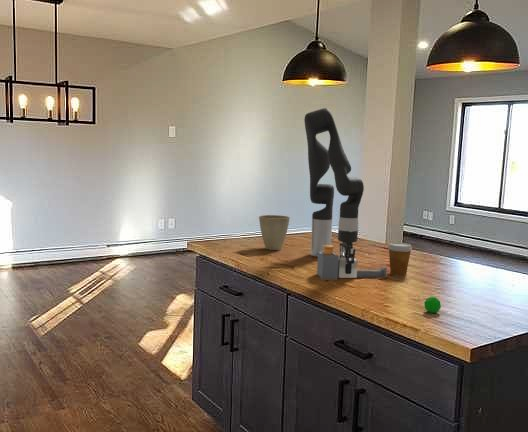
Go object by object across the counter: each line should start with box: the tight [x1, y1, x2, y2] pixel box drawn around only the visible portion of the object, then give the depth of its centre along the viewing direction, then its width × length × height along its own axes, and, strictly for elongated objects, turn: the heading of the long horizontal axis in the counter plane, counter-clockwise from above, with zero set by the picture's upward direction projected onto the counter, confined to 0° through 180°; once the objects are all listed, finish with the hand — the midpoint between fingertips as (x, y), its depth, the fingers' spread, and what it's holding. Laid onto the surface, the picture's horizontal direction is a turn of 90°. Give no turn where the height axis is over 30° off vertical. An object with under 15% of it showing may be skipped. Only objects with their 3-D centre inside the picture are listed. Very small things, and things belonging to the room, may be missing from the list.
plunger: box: [323, 244, 335, 255], centre depth 219 cm, size 4×4×5 cm
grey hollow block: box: [316, 251, 340, 280], centre depth 219 cm, size 9×6×9 cm, turn 7°
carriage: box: [338, 257, 358, 279], centre depth 220 cm, size 5×7×7 cm
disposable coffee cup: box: [387, 242, 413, 276], centre depth 229 cm, size 10×10×12 cm
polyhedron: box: [423, 296, 442, 314], centre depth 175 cm, size 5×5×5 cm
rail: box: [357, 265, 387, 279], centre depth 221 cm, size 3×20×4 cm, turn 97°
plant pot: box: [258, 214, 291, 251], centre depth 275 cm, size 15×15×16 cm
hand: (346, 271), depth 220 cm, fingers closed on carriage, 5 cm apart
